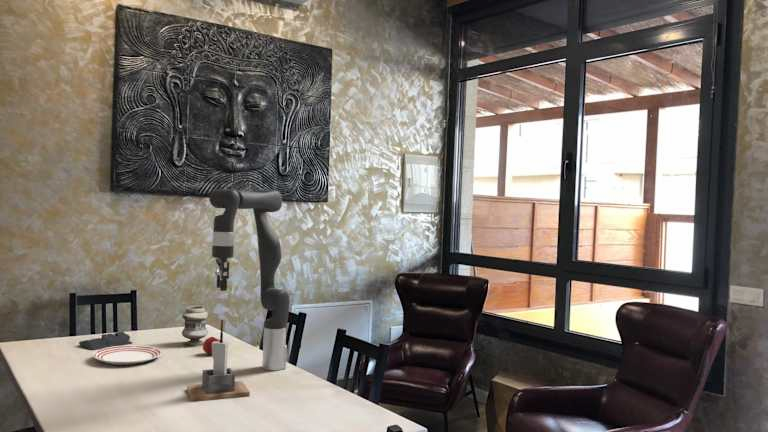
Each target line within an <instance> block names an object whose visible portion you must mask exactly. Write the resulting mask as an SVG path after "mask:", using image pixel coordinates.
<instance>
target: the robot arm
mask: <svg viewBox="0 0 768 432" xmlns="http://www.w3.org/2000/svg"><path fill="white" fill-rule="evenodd" d="M208 199H209V202H210V204H211V206H212V207H214V208H216V209H224V211H223V213H222V214H219V215H215V216H214V218H213V231H212V232H213V233H212V243H211V257H212V258H213V259H214V258H215V272H214V274H215V277H216V288H217V289H218V288H219V290H220V291H221V292H226V291H228V290H227V289H228V280H229V278H230V276H229V275H230V262H229V261H228V259H231V258H234V249H235V248H234V246H235V234H234V231H235V229H234V228H235V223H234V222H235V218H236V216H237V215H236V214H237V211H238V210H245V209H246V210H250V209H251V210H252V211H253V215H254V220H255V225H256V234H257V236H256V237H257V248H258V249H257V251H258V259H259V260H258V261H259V273H260V304H261V306H262V308H263V309H264V310H267V311H272V316H271V317H270V318H267V319H265V320H264V321H263V339H262V341H263V342H262V344H263V345H262V363H261V364H262V369H264V370H266V371H281V370H285V369H287V352H288V351H287V344H286V339H287V323H288V319H289V311H290V295H289V292H288V291H287V290H284V289H278V288H276V286H275V276H276V273H277V270H278V267H279V266H280V263H281V261H282V249H281V248H282V246H281V241H280V238H279V237H278V236H277V234H276V233H275V231H274V230H273V229H272V227H271V225H270V224H269V220H268V217H267V213H275V212H277V211H280V209H281V208H282V206H283V197H282V194H281V193H280V192H279V191H278V190H276V189H256V190H255V191H251V190H242V189H241V190H240V189H233V188H216V189H214V190H212V191H211V192H210V195H209V198H208Z"/></svg>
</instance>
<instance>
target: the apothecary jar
mask: <svg viewBox="0 0 768 432" xmlns="http://www.w3.org/2000/svg"><path fill="white" fill-rule="evenodd" d="M205 307H206V306H203V305H191V306H190V305H189V306H187V307H186V308H185V311H184V312H183V313H182V318H183V319H184V328H183V330H182V331H181V335H182V337H184V338H186V339H188V340H187V341H185V342H184V343H183V345H184V346H185V347H203V344H204V342H205V341H203V340H201V339H203V338H206V337H207V336H208V335H209V330H208V328H207V327H206V319H207V318H208V317H209V313H208V312H207V311H206V309H205Z"/></svg>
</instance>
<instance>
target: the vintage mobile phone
mask: <svg viewBox="0 0 768 432" xmlns="http://www.w3.org/2000/svg"><path fill="white" fill-rule="evenodd" d="M223 325H224V320H223V319H221V320H220V336H219V340H220V341H214V342H213V343H212V355H211V358H212V359H213V367H212V369H213V375H224V374H227V368H228V353H229V352H228V348H229V347H228V346H229V342H228V341H224V339H223V337H224V336H223V335H224V333H223V332H224V329H223V328H224V326H223Z"/></svg>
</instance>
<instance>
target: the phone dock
mask: <svg viewBox="0 0 768 432" xmlns="http://www.w3.org/2000/svg"><path fill="white" fill-rule="evenodd" d="M235 380H236V374H235V372H234V371H233V370H232V368H231V367H227V374H224V375H213V368H210V369H203V370H202V379H201V384H199V383H198V384H190V385H189V384H187V385H186V391H187V393H188V395H189V399H190V401H191V402H200V401H201V402H202V401H209V400H221V399H233V398H234V399H235V398H243V397H250V395H251V394H250V393H251V392H250V390H249V389H248V386H246V384H245V383H244V382H243V381H242V380H237V381H235Z"/></svg>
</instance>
